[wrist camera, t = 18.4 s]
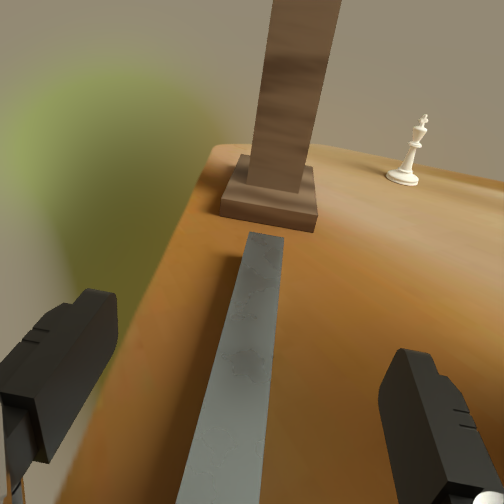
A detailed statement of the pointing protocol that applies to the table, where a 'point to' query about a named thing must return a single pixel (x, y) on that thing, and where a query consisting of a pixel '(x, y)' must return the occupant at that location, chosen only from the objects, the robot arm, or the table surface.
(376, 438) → the table surface
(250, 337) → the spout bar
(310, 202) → the walnut stand
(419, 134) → the chess piece
